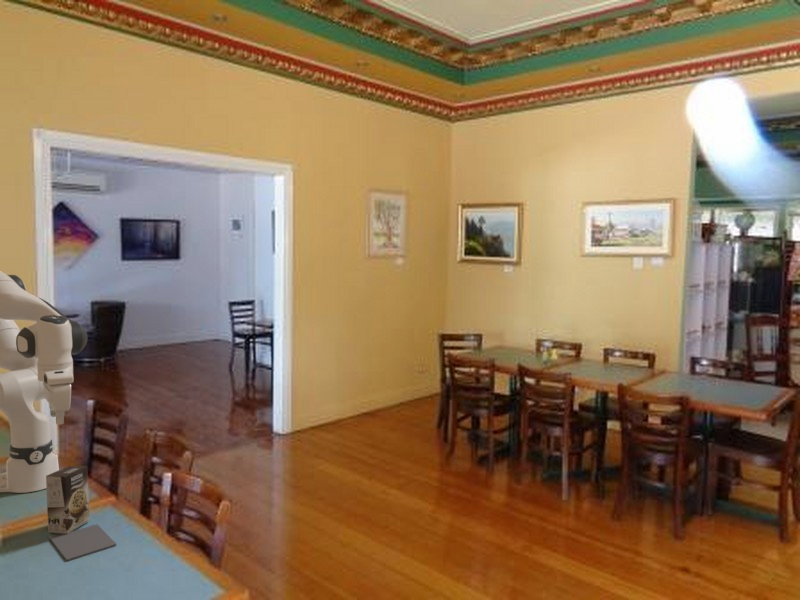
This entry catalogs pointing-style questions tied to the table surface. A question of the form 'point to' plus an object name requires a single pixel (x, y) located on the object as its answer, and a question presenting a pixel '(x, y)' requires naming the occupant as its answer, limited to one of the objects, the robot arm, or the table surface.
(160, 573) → the table surface
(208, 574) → the table surface
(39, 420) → the robot arm
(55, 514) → the coffee box
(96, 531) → the mat
